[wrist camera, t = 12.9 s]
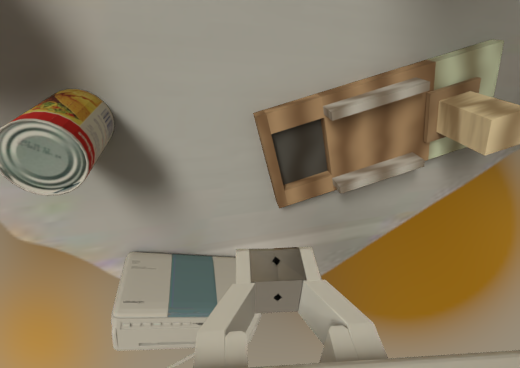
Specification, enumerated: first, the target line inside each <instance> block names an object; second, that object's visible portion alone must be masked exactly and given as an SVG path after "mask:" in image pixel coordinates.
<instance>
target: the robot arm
mask: <svg viewBox="0 0 520 368" xmlns="http://www.w3.org/2000/svg"><path fill="white" fill-rule="evenodd" d="M297 311H298V313H299V314H300V316H301V317H302V318H303V319H304V321H305V322H306V323H307V325H308V326H309V327H310V328H311V330H312V331H313V332H314V333H315V335H316V336H317V337H318V339H319V340H320V341H321V342H322V344H323V345H324V348H323V352H322V355H321V359H320V362H319V363H312V364H296V365H282V366H266V367H251V368H520V350H514V351H499V352H483V353H468V354H452V355H438V356H421V357H405V358H390V359H388V357H387V354H386V352H385V350H384V347H383V345H382V343H381V340H380V337H379V335H378V333H377V330H376V328H375V325H374V323H373V322H372V321H371V320H370V319H368V318H367V317H366V316H365V315H364V314H363V313H362V312H361V311H360V310H359V309H357V308H356V307H355V306H354V305H353V304H352V303H351V302H350V301H348V300H347V299H346V298H345V297H344V296H343V295H342V294H341V293H340V292H338V291H337V290H336V289H335V288H334V287H333V286H332V285H331V284H329V283H328V282H327V281H326V280H322V279H321V276H320V272H319V269H318V266H317V262H316V259H315V256H314V252H313V249H312V248H311V247H292V248H273V249H236V284H232V285H231V286H230V288H229V289H228V290H227V292H226V293H225V295H224V296H223V297H222V299H221V300H220V301H219V303H218V304H217V306H216V307H215V308H214V310H213V311H212V312H211V314H210V315H209V317H208V318H207V319H206V321H205V322H204V323H203V325H202V326H201V328H200V329H199V330H198V332H197V338H196V347H195V356H194V365H193V368H248V357H247V334H245V333H246V331H247V329H248V327H249V325H250V323H251V321H252V319H253V317H254V315H255V314H258V313H270V312H297Z"/></svg>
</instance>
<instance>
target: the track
mask: <svg viewBox="0 0 520 368" xmlns="http://www.w3.org/2000/svg"><path fill="white" fill-rule="evenodd" d="M503 44H504V41H503V40H489V41H485V42H482V43H479V44H476V45H473V46H469V47H466V48H463V49H460V50H456V51H453V52H450V53H447V54H443V55H440V56H437V57H434V58H430V59H427V60H424V61H421V62H417V63H414V64H411V65H408V66H405V67H401V68H398V69H395V70H392V71H388V72H385V73H382V74H379V75H375V76H372V77H369V78H366V79H362V80H359V81H356V82H353V83H349V84H346V85H343V86H340V87H337V88H333V89H330V90H327V91H324V92H320V93H317V94H314V95H311V96H307V97H304V98H301V99H298V100H294V101H291V102H288V103H285V104H281V105H278V106H275V107H272V108H269V109H265V110H262V111H259V112H256V113H253V114H254V118H255V122H256V126H257V129H258V133H259V137H260V141H261V145H262V148H263V152H264V156H265V160H266V164H267V167H268V171H269V175H270V179H271V183H272V187H273V190H274V194H275V198H276V202H277V204H278V206H279V208H282V207H285V206H288V205H291V204H294V203H297V202H300V201H303V200H306V199H309V198H312V197H315V196H318V195H322V194H325V193H328V192H331V191H334V190H338V191H339V192H340V193H341V194H342V193H345V192H348V191H351V190H354V189H357V188H360V187H363V186H366V185H369V184H372V183H375V182H378V181H381V180H384V179H387V178H390V177H393V176H396V175H400V174H403V173H406V172H409V171H412V170H415V169H418V168H421V167H424V162H425V161H426V160H429V159H432V158H435V157H438V156H441V155H444V154H447V153H450V152H453V151H456V150H459V149H462V148H466V146H464V145H462V144H460V143H458V142H456V141H454V140H452V139H450V138H448V137H444V138H441V139H438V140H435V141H432V142H429V143H426V142H424V127H425V111H426V96H427V92H430V91H434V90H437V89H440V88H443V87H446V86H449V85H453V84H456V83H459V82H462V81H465V80H468V79H472V78H475V77H479V78H481V82H480V89H479V94H482V95H486V96H489V97H494V92H495V87H496V81H497V76H498V71H499V65H500V60H501V55H502V50H503Z"/></svg>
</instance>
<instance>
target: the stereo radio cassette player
mask: <svg viewBox="0 0 520 368" xmlns="http://www.w3.org/2000/svg"><path fill="white" fill-rule="evenodd" d="M232 284H236V257H217V256H199V255H180V254H161V253H142V252H131V253H129V254H128V255H127V256H126V259H125V263H124V267H123V271H122V275H121V279H120V283H119V287H118V291H117V295H116V298H115V303H114V306H113V310H112V319H111V324H112V339H113V348H114V349H115V350H117V351H125V350H152V349H174V348H175V349H176V348H195V347H196V338H197V332H198V330H199V329H200V328H201V326H202V325H203V323H204V322H205V321H206V319H207V318H208V317H209V315H210V314H211V312H212V311H213V310H214V308H215V307H216V306H217V304H218V303H219V301H220V300H221V299H222V297H223V296H224V295H225V293H226V292H227V290H228V289H229V288H230V286H231V285H232ZM261 315H262V313H258V314H255V315H254V317H253V319H252V321H251V323H250V325H249V327H248V329H247V331H246V333H245V334H247V344H249V343H250V341H251V339H252V337H253V335H254V333H255V331H256V328H257V325H258V323H259V321H260V318H261ZM194 356H195V353H193V354H191V355H189V356H187V357H185V358H184V359H181V360H180V361H178V362H176V363H174V364H172V365H170V366H168V367H167V368H174V367H176V366H177V365H180V364H181V363H183V362H185V361H187V360H189V359H191V358H193V357H194Z"/></svg>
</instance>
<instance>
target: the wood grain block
mask: <svg viewBox="0 0 520 368" xmlns="http://www.w3.org/2000/svg"><path fill="white" fill-rule="evenodd" d="M480 82H481V78H479V77H475V78H472V79H468V80H465V81H462V82H459V83H456V84H453V85H449V86H446V87H443V88H440V89H437V90H434V91H430V92H427V96H426V111H425V127H424V142H426V143H429V142H432V141H435V140H438V139H441V138H444V137H448V138H450V139H452V140H454V141H456V142H458V143H460V144H462V145H464V146H466V147H468V148H470V149H472V150H475V151H477V152H479V153H481V154H483V155H488V154H491V153H494V152H497V151H500V150H503V149H506V148H509V147H512V146H516V145H519V144H520V105H517V104H513V103H510V102H507V101H503V100H500V99H496V98H493V97H489V96H486V95H482V94H479V89H480Z"/></svg>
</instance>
